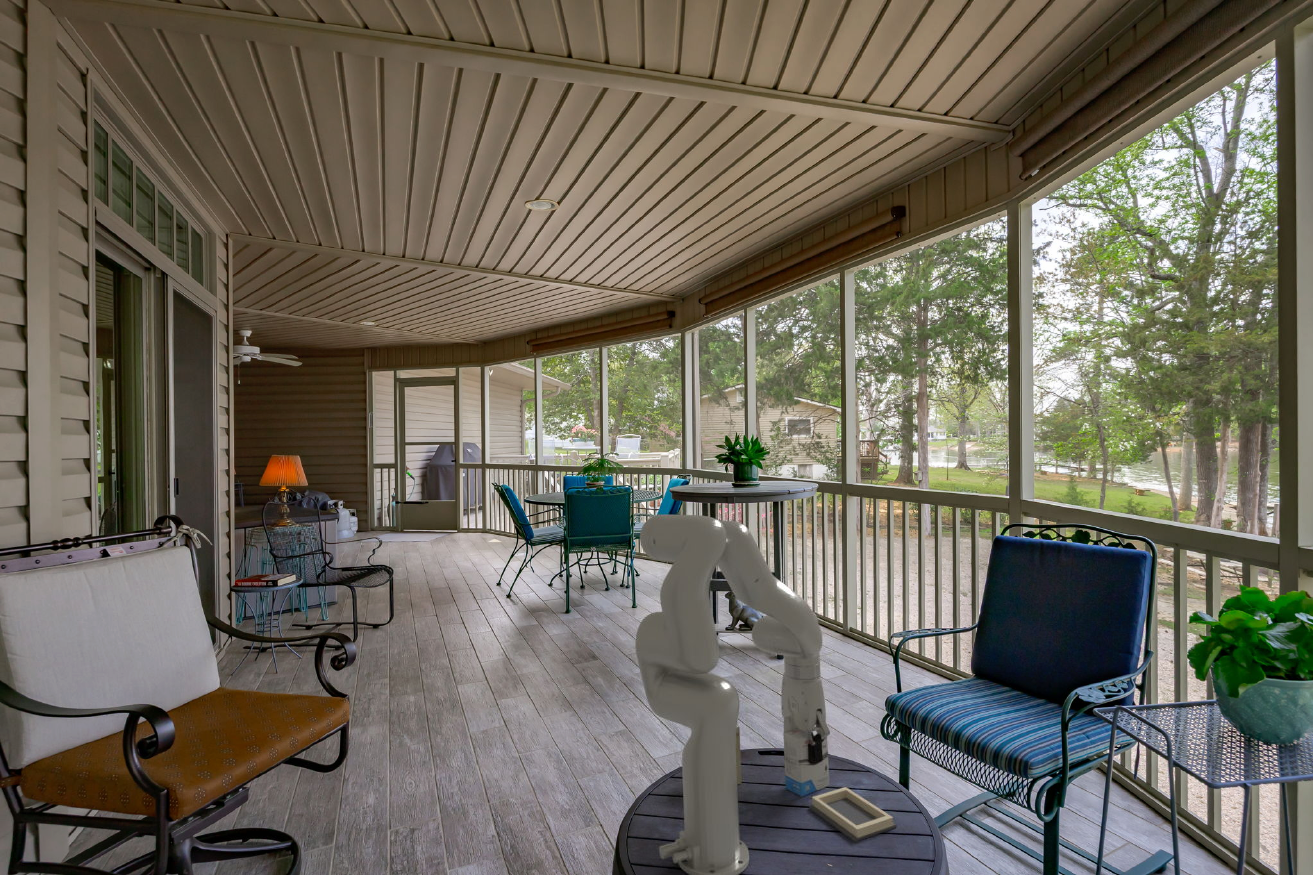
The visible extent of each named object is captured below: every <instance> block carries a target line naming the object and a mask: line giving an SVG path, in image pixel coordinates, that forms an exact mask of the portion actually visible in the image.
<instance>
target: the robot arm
mask: <svg viewBox="0 0 1313 875" xmlns="http://www.w3.org/2000/svg"><path fill="white" fill-rule="evenodd" d="M639 541H640V542H639V543H640V546H641V548H642V550H643V552H644V553H645V554H646V555H647V556H648V557H649V558H650V559H653V560H654V561H660V562H671V563H673V564H672V565H671V567H670V569H669V570H668V572H667V574H666V575H665V577H664V579H663V582H662V585H661V588H660V591H659V592H660V593H659V597H660V598H659V599H660V600H659V601H660V607H661V611H655V612H652V613H649V614H648V615H646V616H645V617H644V618H643V619H642V621H640V624H639V626H638V628H637V631H636V634H635V640H634V641H635V653H636V659H637V664H638V668H639V672H640V676H641V680H642V684H643V689H644V692H645V693H644V694H645V697H646V700H647V703H648V706H649V707H650V709H651V710H652V712H653V713H654V714H655V715H656V716H658V717H660V718H661V719H664V720H667V721H669V722H672V723H676V724H678V725H681V726H684V727H687V728H688V729H690V736H689V738H688V740H687V741H686V743H685V745H684V747H683V749H682V754H681V768H682V793H683V794H682V795H683V796H682V797H683V820H684V823H683V824H684V829H683V830H680V831H679V838H677V839H675V840H674V842H671V843H667V844H662V845H659V847H658V850H659V856H660V858H661V859H662V860H664V859H669V858H671V857H672V861H673V863H674V864H678V866H679V868H681V870H682V871H683V872H684V873H686V874H687V875H740V874H741V873H743V872H744V871H745V870H746V868H747V867H748V865H749V863H750V852H749V848H748V846H747V845H746V844H745V842H744V841H742V840H741V839H740V822H739V802H738V801H739V799H738V798H739V796H738V784H737V772H736V729H737V724H738V721H739V714H740V705H741V704H740V701H741V700H740V695H739V692H738V690H737V688H736V686H735V685H734V684H732V682H730V681H729V680H728V679H726V678H723V677H722V676H720V675H716V674H713V673H709V672H712V671H713V670H714V669H715V668H716V666H717V665H718V663H719V660H720V646H719V645H720V644H719V640H718V635H717V630H716V624H715V621H714V620H715V618H714V615H713V611H712V610H713V609H712V606H711V600H710V589H709V588H710V583H711V580H712V576H713V574H714V572H715V569H716V567H718V568H719V570H720V572H721V573H722V575H723V576H724V578H725V580H726V582H727V584H728V585H729V587H730V589H731V591H732V592H733V595H734V596H735V597H736V598H735V599H737V600H738V601H739V602H740V603H742V604H744V605H746V606H747V607H748V608H751V609H752V610H755V611H757V612H759V613H761V614H763V615H764V616H761V617H760V618H759V619H757V621H755V623H754V624H753V627H752V628H751V629H752V630H751V639H752V642H753V643H754V645H755V647H757V649H759V650H760V651H762V652H765V653H770V654H773V655H779V656H783V659H784V660H783V665H784V666H783V667H784V672H783V674H782V678H781V679H782V680H781V696H780V697H781V698H780V699H781V700H780V702H781V703H780V704H781V715H782V718H783V719H784V718H785V717H787V716H789V722H790V723H792V724H794V725H795V726H797V727H799V728H801V729H803V730H804V731H807V732H808V737H809V741H810V743H809V744H808V757H809V763H810V764H814V763H818V762H821V761H822V760H823V755H822V743H823V742H824V739H825V738H826V737H827V738H828V736H829V735H830V734H831V730H830V729H829V726H828V724H827V712H826V710H827V709H826V700H825V693H824V687H823V683H822V679H821V676H822V674H821V673H822V672H821V659H820V657H821V656H820V654H821V653H820V652H821V650H822V647H823V633H822V629H821V627H820V624H819V621H818V620H819V619H818V618H819V617H818V616H817V614H816V613H815V612H814V611H813V610H812V608H811V606H810V605H809V604H808V603H807V601H806V600H805V599H804V598H803V597H801V596H800V595H799V594H798V593H797V592H795V591H794V590H793V589H792V588H790V586H788V585H787V584H785V583H784V582H783V581H781V580H780V579H778V578H777V577H776V576H774V574H773V572H771V569H770V567H769V565H768V564H767V562H766V559H765V558H764V555H763V553H762V552H761V550H760V548H759V546H758V544H757V541H756V540H755V538H754V537H753V535H752V533H751V531H750V530H749V528H748V527H747V526H746V525H744V524H743V523H741V522H739V521H735V520H719V519H717V518H714V517H711V516H707V515H699V514H698V515H697V514H657V515H653V516H651V517H649V518H648V519H647V520H646V521H645V522H644V523H643V525H642V527H641V529H640V534H639ZM815 725H816V727H815ZM813 731H816V732H817V734H816V735H815V736H814V735H813Z"/></svg>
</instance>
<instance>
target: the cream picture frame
mask: <svg viewBox="0 0 1313 875" xmlns="http://www.w3.org/2000/svg"><path fill="white" fill-rule="evenodd" d="M811 802H812V803H811V804H810V805H809V807H808V808H809V809H810V810H811V811H812V812H813V813H815V814H816V815H818V816H819V817H821V819H822V820H825V822H827V823H828V824H829V825H830V826H831V825H832V827H834V828H835V829H837V830H838V831H839V832H841V833H842V834H843V835H844V836H846V837H847V838H849V839H850V840H851V841H853V842H854V843H856V842H859V841H861V840H864V839H867V838H871V837H872V836H876V835H879V834H881V833H884V832H887V831H890V830H893V829H895V828H897V824H896V823H895V822H894V817H893V816H892V815H890V814H888V813H887V812H885V811H884V810H882V809H881V808H879V807H878V806H876V805H875V804H873V803H871V802H870V801H868V800H866V799H865V798H863V797H862V796H860V794H857V793H856V792H854V791H852V789H850V788H848V787H847V786H844V787H841V788H838V789H834V790H832V791H828V792H824V793H820V794H818V795H815V796H812V797H811Z"/></svg>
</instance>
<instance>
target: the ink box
mask: <svg viewBox="0 0 1313 875" xmlns="http://www.w3.org/2000/svg"><path fill="white" fill-rule="evenodd" d="M815 727H816V725H815ZM816 734H817V732H816V731H813V735H814V736H815V735H816ZM809 743H810V741H809V737H808V732H807V731H804V730H803V729H801V728H799V727H797V726H795V725H794V724H792V723H790V722H789V716H787V717H785V718H784V717H783V752H784V753H783V754H784V755H783V756H784V757H783V758H784V775H785V776H784V777H785V778H784V779H785V789H786V790H789V791H790V792H792V793H794V794H796V795H798V796H800V797H803V798H804V797H805V796H807V795H809V794H812V793H815V792H817V791H819V790H822V789H824V788H827V787H829V786H830V772H829V769H830V768H829V767H830V766H829V749H828V736H827V737H826V738H825V739H824V742H823V743H822V755H823V760H822V761H821V762H818V763H814V764H810V763H809V757H808V744H809Z"/></svg>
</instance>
